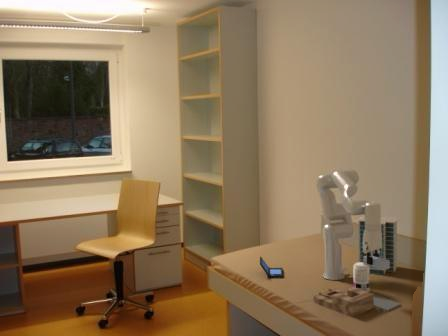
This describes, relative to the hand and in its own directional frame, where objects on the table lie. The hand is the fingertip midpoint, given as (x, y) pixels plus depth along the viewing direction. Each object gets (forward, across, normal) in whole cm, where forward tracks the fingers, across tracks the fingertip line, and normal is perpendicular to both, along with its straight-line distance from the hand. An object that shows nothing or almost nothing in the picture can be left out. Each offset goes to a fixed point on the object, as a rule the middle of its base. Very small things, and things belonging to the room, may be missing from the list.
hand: (373, 262), depth 239 cm
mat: (+20, 0, +3) cm, 20 cm away
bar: (+1, 0, +2) cm, 2 cm away
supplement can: (+20, -6, -12) cm, 24 cm away
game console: (+20, +9, -66) cm, 69 cm away
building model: (+20, -42, -28) cm, 55 cm away
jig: (+20, +14, -7) cm, 26 cm away
